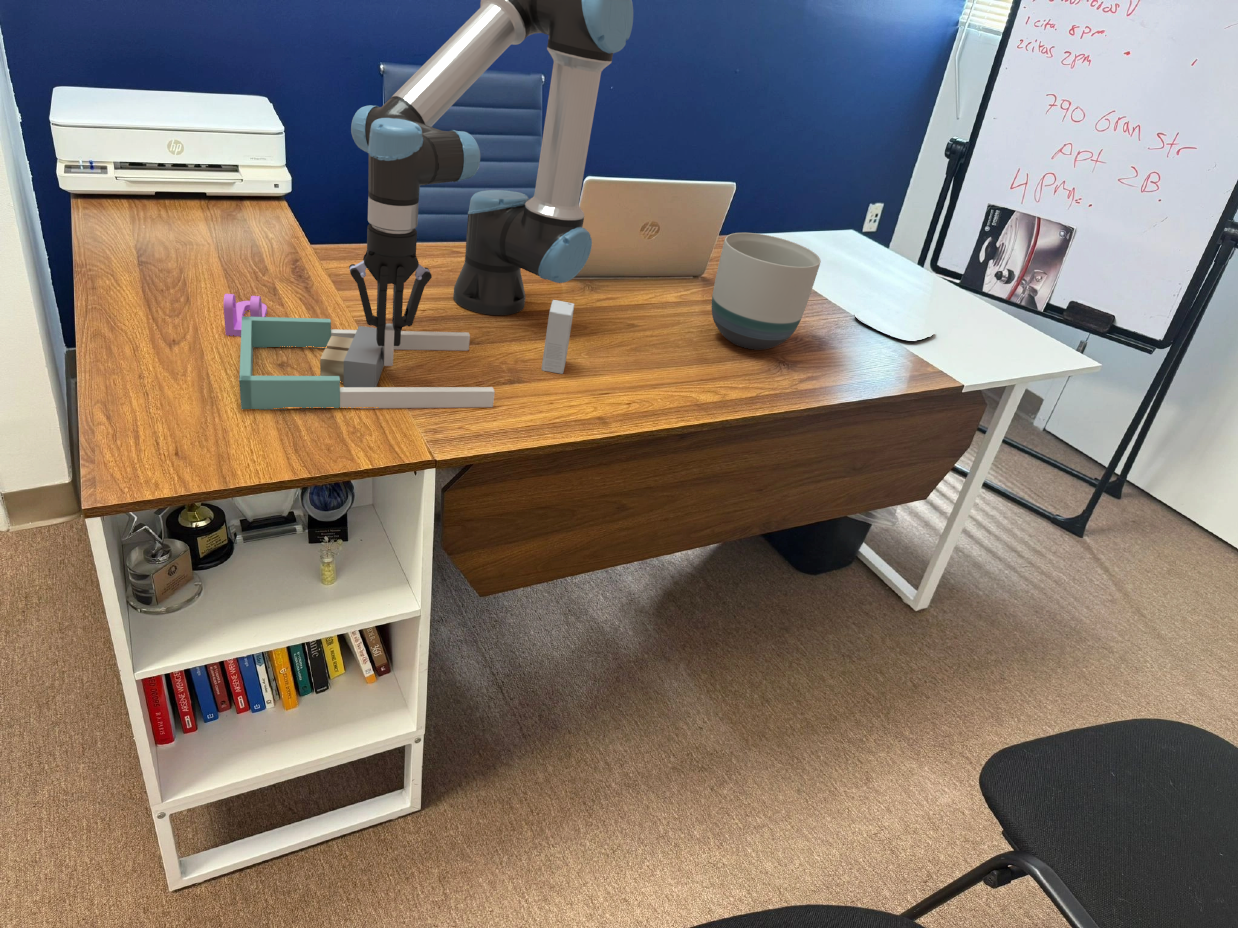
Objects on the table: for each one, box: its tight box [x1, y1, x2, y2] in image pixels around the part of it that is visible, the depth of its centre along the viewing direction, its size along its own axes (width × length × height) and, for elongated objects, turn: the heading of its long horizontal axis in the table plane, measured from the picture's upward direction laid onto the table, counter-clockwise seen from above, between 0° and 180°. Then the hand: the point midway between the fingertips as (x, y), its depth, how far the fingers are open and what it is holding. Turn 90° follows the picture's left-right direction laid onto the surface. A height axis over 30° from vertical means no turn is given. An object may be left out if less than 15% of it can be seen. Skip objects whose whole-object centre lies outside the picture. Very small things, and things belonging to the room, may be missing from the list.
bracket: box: [223, 293, 268, 337], centre depth 151 cm, size 13×6×7 cm, turn 13°
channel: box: [331, 328, 496, 409], centre depth 146 cm, size 24×23×3 cm
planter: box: [711, 232, 822, 351], centre depth 181 cm, size 20×20×21 cm
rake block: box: [343, 325, 385, 387], centre depth 144 cm, size 5×14×5 cm, turn 5°
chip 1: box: [327, 336, 353, 351], centre depth 145 cm, size 4×4×4 cm
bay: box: [238, 315, 341, 411], centre depth 138 cm, size 14×23×5 cm, turn 20°
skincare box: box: [541, 299, 575, 375], centre depth 156 cm, size 6×4×12 cm
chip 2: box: [319, 348, 348, 384], centre depth 140 cm, size 4×4×4 cm
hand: (387, 362), depth 144 cm, fingers closed
